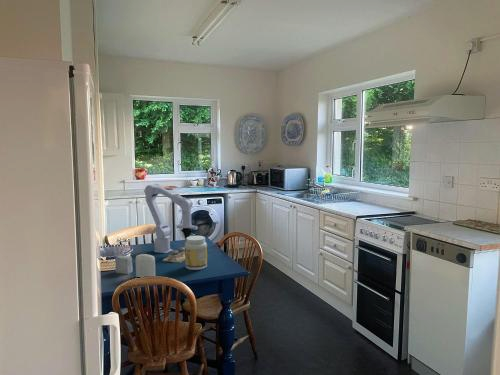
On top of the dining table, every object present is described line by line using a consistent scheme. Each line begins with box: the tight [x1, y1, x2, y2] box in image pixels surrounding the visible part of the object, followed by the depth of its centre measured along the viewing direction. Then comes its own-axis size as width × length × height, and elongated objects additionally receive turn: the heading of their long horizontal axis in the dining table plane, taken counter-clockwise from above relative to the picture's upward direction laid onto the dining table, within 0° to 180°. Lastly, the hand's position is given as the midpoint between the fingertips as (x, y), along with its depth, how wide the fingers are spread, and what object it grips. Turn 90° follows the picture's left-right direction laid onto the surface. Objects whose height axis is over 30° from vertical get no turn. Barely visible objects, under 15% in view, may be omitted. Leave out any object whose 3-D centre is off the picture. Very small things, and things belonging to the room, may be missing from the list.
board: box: [162, 246, 185, 264], centre depth 233 cm, size 12×22×4 cm, turn 157°
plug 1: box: [170, 249, 179, 255], centre depth 226 cm, size 4×4×4 cm
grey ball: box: [177, 246, 185, 252], centre depth 233 cm, size 4×4×4 cm
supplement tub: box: [184, 235, 208, 271], centre depth 212 cm, size 12×12×17 cm
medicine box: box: [114, 255, 134, 275], centre depth 205 cm, size 8×4×9 cm, turn 71°
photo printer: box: [135, 253, 156, 278], centre depth 197 cm, size 10×4×12 cm, turn 77°
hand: (187, 239), depth 239 cm, fingers closed
